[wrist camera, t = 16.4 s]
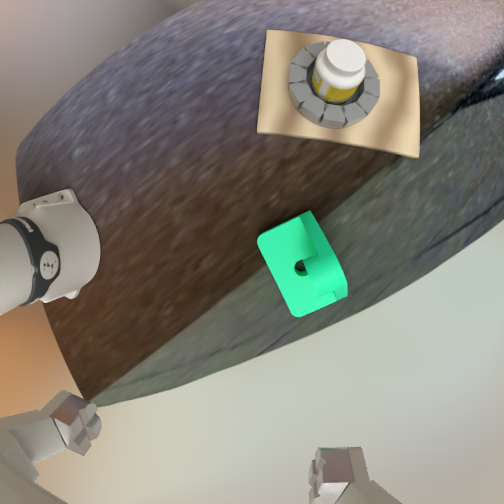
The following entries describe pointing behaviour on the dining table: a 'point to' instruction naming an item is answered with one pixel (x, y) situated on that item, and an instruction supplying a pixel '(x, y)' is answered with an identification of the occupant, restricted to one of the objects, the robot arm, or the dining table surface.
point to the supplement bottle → (338, 71)
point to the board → (362, 133)
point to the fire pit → (317, 108)
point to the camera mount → (315, 260)
